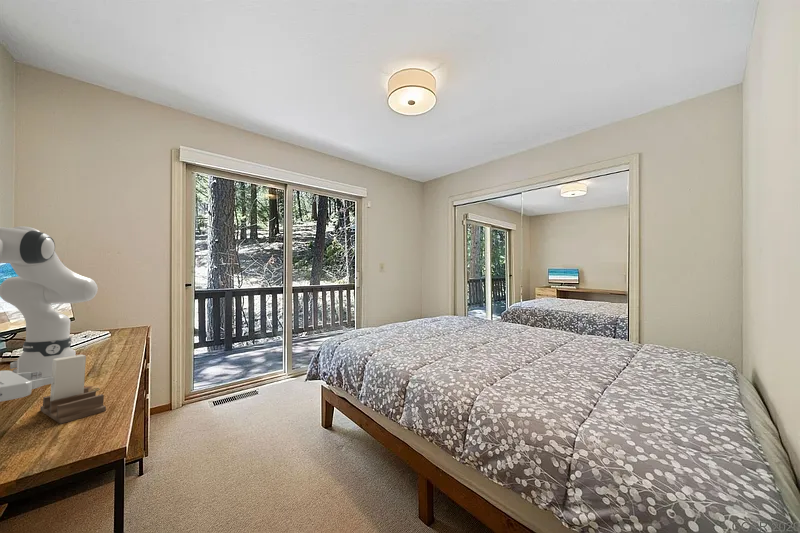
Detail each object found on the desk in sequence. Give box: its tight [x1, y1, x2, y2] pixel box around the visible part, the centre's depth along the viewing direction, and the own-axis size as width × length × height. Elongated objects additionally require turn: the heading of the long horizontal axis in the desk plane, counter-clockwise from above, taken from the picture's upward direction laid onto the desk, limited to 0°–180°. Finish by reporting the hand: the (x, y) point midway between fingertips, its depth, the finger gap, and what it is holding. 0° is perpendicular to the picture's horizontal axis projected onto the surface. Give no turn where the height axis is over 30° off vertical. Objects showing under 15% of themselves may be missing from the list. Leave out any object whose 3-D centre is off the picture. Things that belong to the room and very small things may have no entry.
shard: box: [84, 385, 101, 392], centre depth 97 cm, size 11×8×2 cm
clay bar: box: [49, 354, 87, 401], centre depth 87 cm, size 3×6×14 cm, turn 153°
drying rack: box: [39, 387, 107, 425], centre depth 86 cm, size 16×9×4 cm, turn 63°
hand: (46, 376), depth 84 cm, fingers open, 8 cm apart
